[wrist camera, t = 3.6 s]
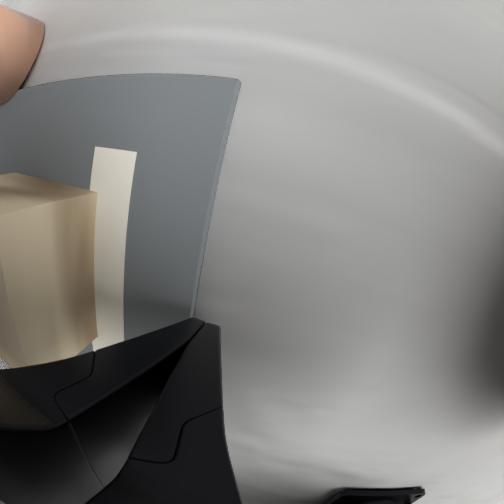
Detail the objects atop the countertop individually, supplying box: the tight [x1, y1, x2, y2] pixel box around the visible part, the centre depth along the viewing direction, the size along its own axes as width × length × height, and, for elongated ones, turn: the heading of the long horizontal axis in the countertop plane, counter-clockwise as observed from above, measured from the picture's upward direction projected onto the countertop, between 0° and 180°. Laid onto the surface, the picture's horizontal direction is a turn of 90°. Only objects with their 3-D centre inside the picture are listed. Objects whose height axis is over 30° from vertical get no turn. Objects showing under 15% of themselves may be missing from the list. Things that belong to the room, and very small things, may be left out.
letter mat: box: [0, 74, 241, 356], centre depth 10 cm, size 14×14×1 cm
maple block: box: [0, 172, 98, 368], centre depth 8 cm, size 6×6×4 cm
